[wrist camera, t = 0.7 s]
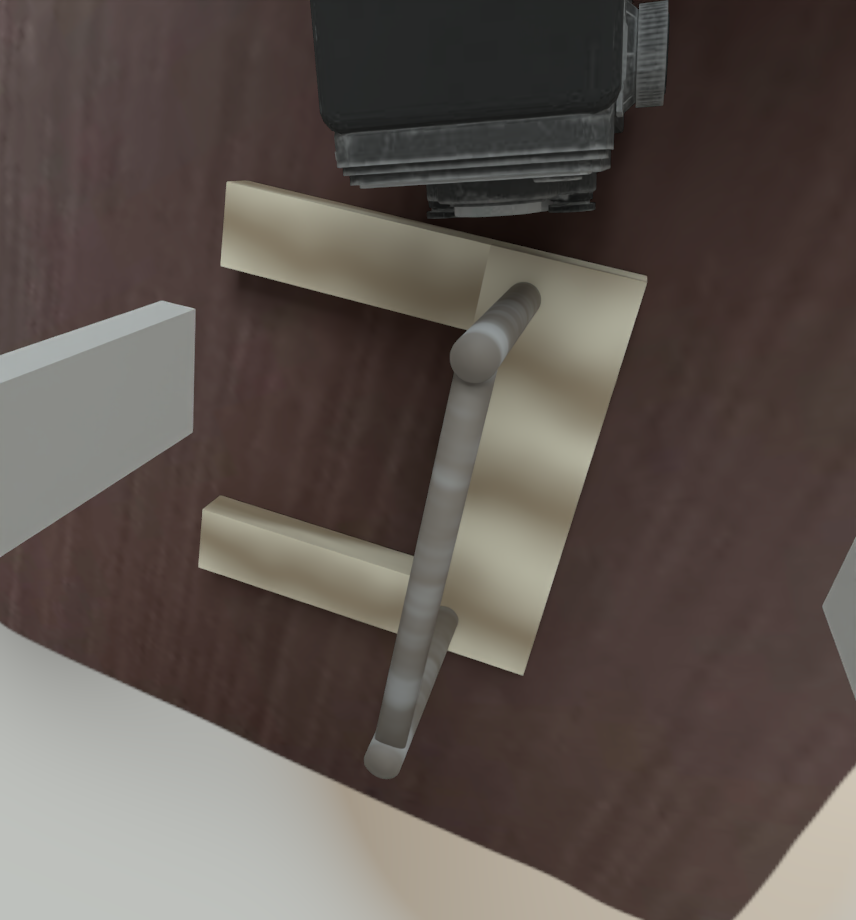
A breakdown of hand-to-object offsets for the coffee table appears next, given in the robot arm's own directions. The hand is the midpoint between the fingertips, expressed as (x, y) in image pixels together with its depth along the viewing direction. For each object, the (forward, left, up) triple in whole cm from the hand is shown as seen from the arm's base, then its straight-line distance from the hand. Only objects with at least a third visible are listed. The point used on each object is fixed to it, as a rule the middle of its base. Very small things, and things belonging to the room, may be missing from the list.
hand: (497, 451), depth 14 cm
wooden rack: (+10, -7, -23) cm, 26 cm away
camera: (-8, -4, -23) cm, 25 cm away
